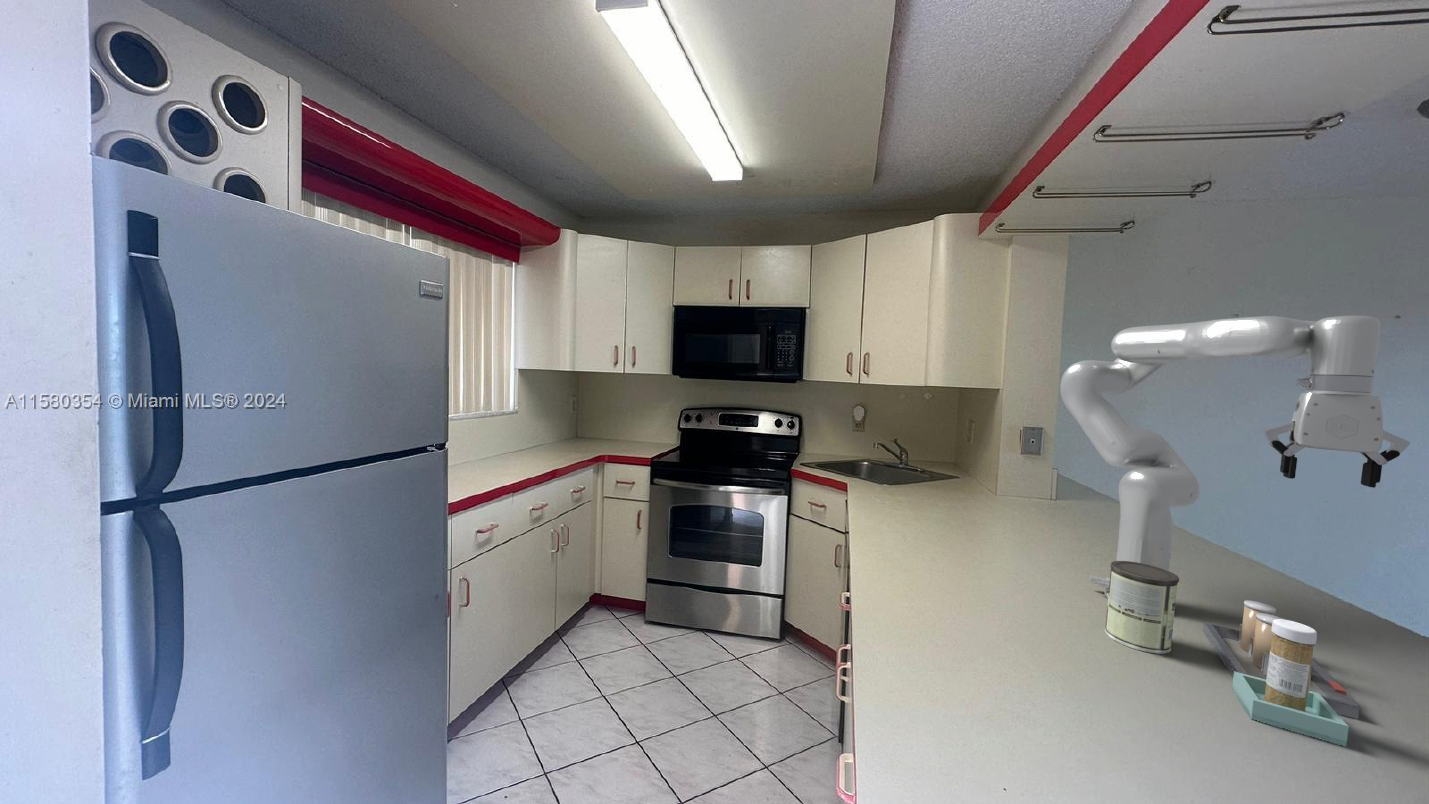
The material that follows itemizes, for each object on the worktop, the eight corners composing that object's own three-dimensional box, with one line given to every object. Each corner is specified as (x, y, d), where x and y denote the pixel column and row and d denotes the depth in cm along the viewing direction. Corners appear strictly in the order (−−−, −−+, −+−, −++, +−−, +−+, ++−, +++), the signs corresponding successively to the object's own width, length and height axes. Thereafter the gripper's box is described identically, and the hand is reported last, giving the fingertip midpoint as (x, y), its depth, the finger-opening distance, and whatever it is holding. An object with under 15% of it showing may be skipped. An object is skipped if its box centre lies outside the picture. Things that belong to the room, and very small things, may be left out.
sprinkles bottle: (1308, 713, 79) (1320, 628, 79) (1302, 723, 77) (1314, 635, 76) (1265, 696, 83) (1276, 615, 82) (1258, 705, 81) (1269, 621, 80)
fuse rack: (1239, 687, 87) (1241, 667, 87) (1202, 631, 108) (1204, 614, 108) (1357, 719, 80) (1360, 697, 80) (1294, 652, 101) (1296, 634, 100)
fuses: (1255, 667, 94) (1260, 619, 93) (1236, 642, 103) (1241, 598, 103) (1288, 676, 92) (1294, 626, 91) (1265, 649, 101) (1271, 604, 101)
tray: (1251, 719, 78) (1253, 700, 78) (1232, 688, 87) (1234, 671, 86) (1346, 747, 73) (1348, 726, 73) (1316, 711, 81) (1318, 693, 81)
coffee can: (1098, 622, 109) (1104, 556, 108) (1160, 635, 104) (1167, 567, 104) (1111, 645, 99) (1118, 572, 99) (1180, 660, 95) (1188, 584, 94)
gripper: (1277, 383, 94) (1266, 477, 95) (1428, 389, 85) (1414, 493, 86) (1263, 384, 100) (1253, 471, 101) (1402, 390, 91) (1389, 486, 92)
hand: (1327, 481), depth 93 cm, fingers open, 9 cm apart
